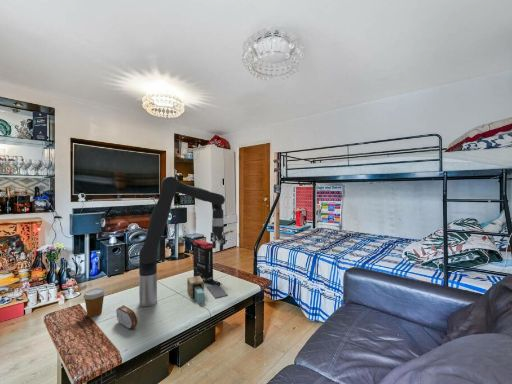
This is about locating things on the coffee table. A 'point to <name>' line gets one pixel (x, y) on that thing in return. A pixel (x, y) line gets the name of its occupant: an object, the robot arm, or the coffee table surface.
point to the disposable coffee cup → (94, 301)
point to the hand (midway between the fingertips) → (217, 249)
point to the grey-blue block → (198, 294)
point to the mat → (217, 291)
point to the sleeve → (194, 281)
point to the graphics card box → (203, 259)
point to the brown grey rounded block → (126, 317)
